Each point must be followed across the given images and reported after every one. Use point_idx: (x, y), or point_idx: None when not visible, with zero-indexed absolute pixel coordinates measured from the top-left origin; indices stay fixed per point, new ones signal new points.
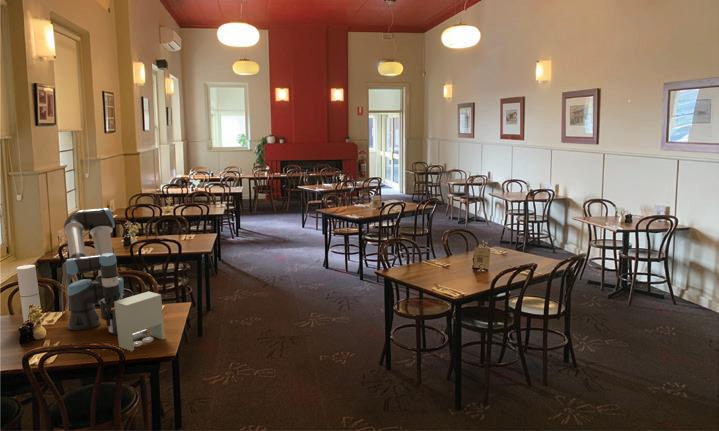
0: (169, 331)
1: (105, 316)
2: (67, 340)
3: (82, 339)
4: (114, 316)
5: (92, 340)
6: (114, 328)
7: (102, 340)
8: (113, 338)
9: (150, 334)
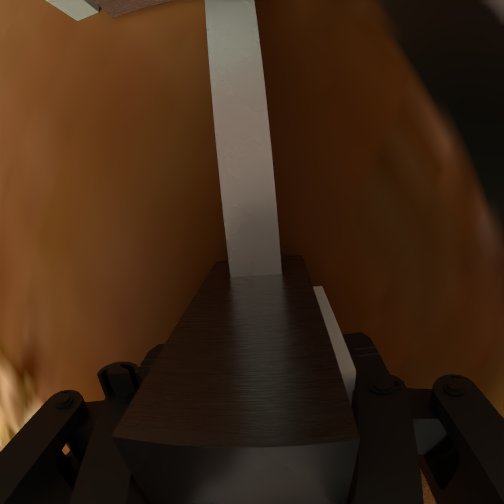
0: (8, 21)
1: (473, 418)
2: (500, 406)
3: (473, 370)
4: (300, 378)
5: (465, 298)
6: (305, 278)
7: (432, 228)
8: (350, 187)
9: (95, 3)
